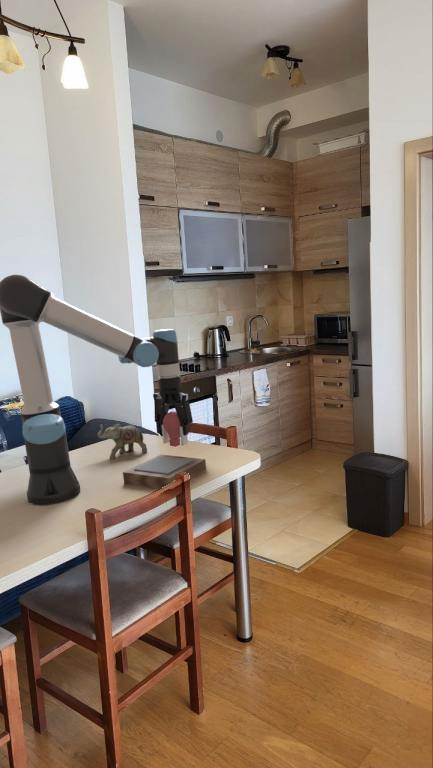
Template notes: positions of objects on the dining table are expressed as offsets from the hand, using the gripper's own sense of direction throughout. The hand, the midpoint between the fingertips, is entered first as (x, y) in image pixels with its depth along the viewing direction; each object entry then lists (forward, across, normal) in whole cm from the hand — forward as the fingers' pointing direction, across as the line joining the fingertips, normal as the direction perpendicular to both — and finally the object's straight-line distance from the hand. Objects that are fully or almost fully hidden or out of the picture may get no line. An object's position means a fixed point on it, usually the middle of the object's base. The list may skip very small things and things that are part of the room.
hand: (175, 443), depth 193 cm
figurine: (+6, +23, +2) cm, 23 cm away
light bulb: (+1, 0, 0) cm, 1 cm away
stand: (+5, -8, +17) cm, 19 cm away
